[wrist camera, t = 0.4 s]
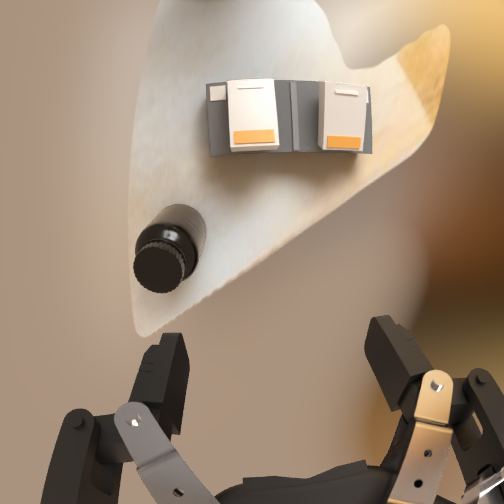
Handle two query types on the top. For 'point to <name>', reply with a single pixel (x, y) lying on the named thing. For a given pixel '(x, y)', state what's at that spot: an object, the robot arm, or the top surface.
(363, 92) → the rocker
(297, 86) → the switch panel
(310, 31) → the top surface
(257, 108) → the block
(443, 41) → the top surface
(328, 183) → the top surface
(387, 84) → the top surface
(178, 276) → the supplement bottle
